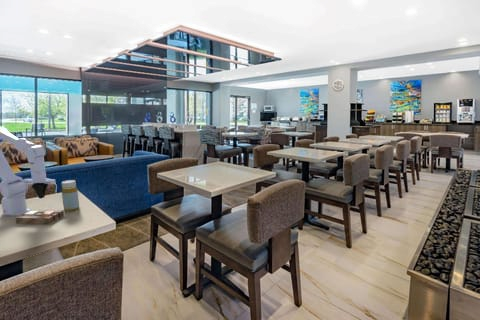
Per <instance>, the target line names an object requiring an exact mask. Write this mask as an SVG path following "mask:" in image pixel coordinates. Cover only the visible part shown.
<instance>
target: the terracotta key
mask: <svg viewBox="0 0 480 320" xmlns="http://www.w3.org/2000/svg"><path fill="white" fill-rule="evenodd" d="M54 213H55V211H46V212H44V213H42V214H41V216H51V215H53V214H54Z"/></svg>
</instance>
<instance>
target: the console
mask: <svg viewBox="0 0 480 320" xmlns="http://www.w3.org/2000/svg"><path fill="white" fill-rule="evenodd" d="M30 211H39V213H38V214H36V215H35V216H25V215H24V214H25V213H24V214H22V215H17V216H16V217H14V219H15V224H16V225H44V226H45V225H48V226H50V225H52V224H53V223H54V222H57V221H58V220H60V219H62V218H63V217H65V213H64V211H65V210H64V209H61V210H60V209H57V210H56V209H32V210H30ZM46 211H55V213H54V214H53V215H51V216H41V214H42V213H44V212H46ZM28 212H29V211H28Z"/></svg>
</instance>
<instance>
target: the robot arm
mask: <svg viewBox="0 0 480 320" xmlns="http://www.w3.org/2000/svg"><path fill="white" fill-rule="evenodd" d="M4 142H7V143H9V144H11V145H13V146H14V149H16V150H17V151H20V152H22V153H23V154H24V156H25V157H26V158H27V161H28V163H29V168H30V176H31V178H24V179H23V177H21V176H18V175H16V174H15V172H14V171H13V169H12V167H11V166H10V164H9V162H8V160H7V158H6V156H5V154H4V153H3V150H2V149H1V148H0V178H1V181H0V194H1V195H2V196H3V197H2V199H1V200H0V204H1V205H0V206H1V210H2V211H1V212H2V213H1V215H2V216H22V214H24V213H27V212H28V211H30V210H33V209H32V208H28V206H27V200H26V194H27V192H28V189H29V186H28V184H31V188H32V189H33V190H34V191H35V193H36V196H37V197H38V199H43V198H45V196H46V191H47V188H48V186H49V185H55V184H56V183H57V182H56V179H54V178H53V179H52V178H47V172H46V164H45V158H44V157H45V156H46V154H47V149H46V148H45V146H43V144H35V143H34V142H32V141H29V140H28V139H27V138H25V137H22V138H21V137H20V138H18V137H17V136H16V135H14V134H12V133H11V132H9V130H8V129H7V128H5V127H4V126H0V146H2V145H3V144H4Z"/></svg>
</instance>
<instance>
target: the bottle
mask: <svg viewBox="0 0 480 320" xmlns="http://www.w3.org/2000/svg"><path fill="white" fill-rule="evenodd" d="M61 188H62V189H61V195H62V196H61V198H62V205H63V210H64V211H65V212H74V211H77V210H79V208H80V200H79V191H78V188H77V183H76V180H75V179H68V180H63V181H62V182H61Z"/></svg>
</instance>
